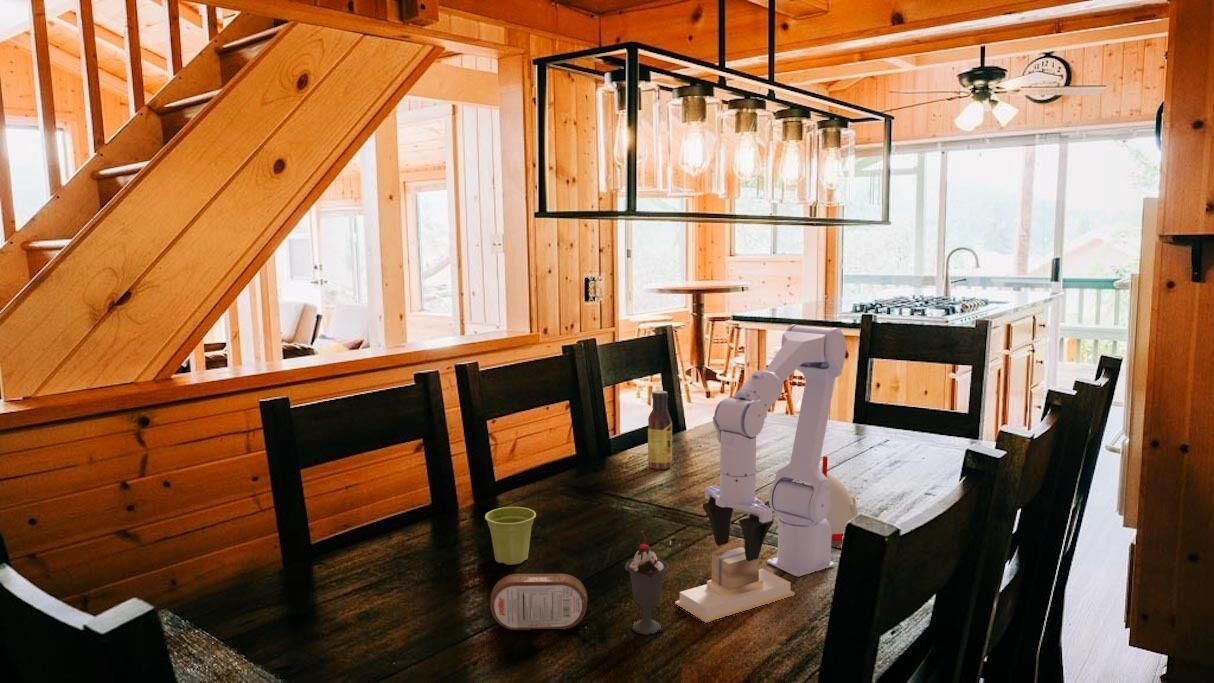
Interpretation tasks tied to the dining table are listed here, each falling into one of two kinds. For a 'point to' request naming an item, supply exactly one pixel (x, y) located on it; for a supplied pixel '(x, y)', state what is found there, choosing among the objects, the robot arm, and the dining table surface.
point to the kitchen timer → (838, 505)
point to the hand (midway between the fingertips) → (736, 551)
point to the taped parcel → (734, 573)
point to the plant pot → (510, 533)
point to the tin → (538, 601)
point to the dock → (733, 598)
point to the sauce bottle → (659, 433)
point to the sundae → (646, 584)
